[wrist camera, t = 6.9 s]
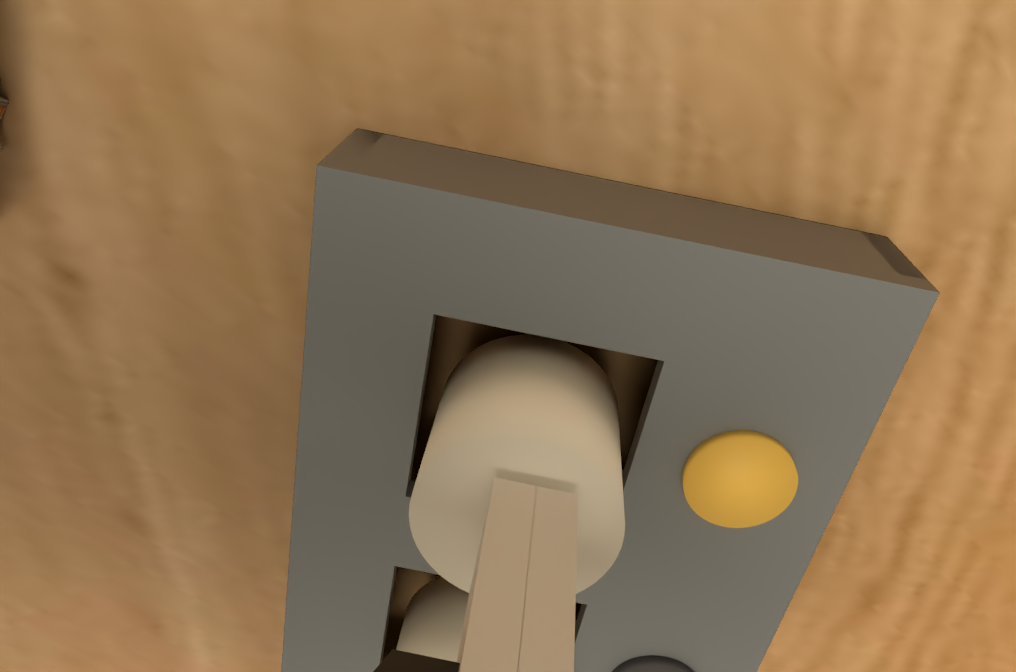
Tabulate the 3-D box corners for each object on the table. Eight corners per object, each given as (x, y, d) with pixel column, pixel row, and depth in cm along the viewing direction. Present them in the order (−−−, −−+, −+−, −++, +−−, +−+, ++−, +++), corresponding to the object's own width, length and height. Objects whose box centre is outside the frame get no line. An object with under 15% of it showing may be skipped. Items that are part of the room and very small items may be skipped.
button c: (430, 465, 19) (397, 582, 16) (455, 318, 17) (423, 414, 14) (595, 498, 19) (597, 622, 16) (638, 355, 17) (650, 460, 14)
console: (296, 784, 29) (264, 881, 26) (357, 128, 18) (311, 169, 15) (622, 849, 29) (625, 953, 26) (887, 236, 18) (945, 299, 15)
